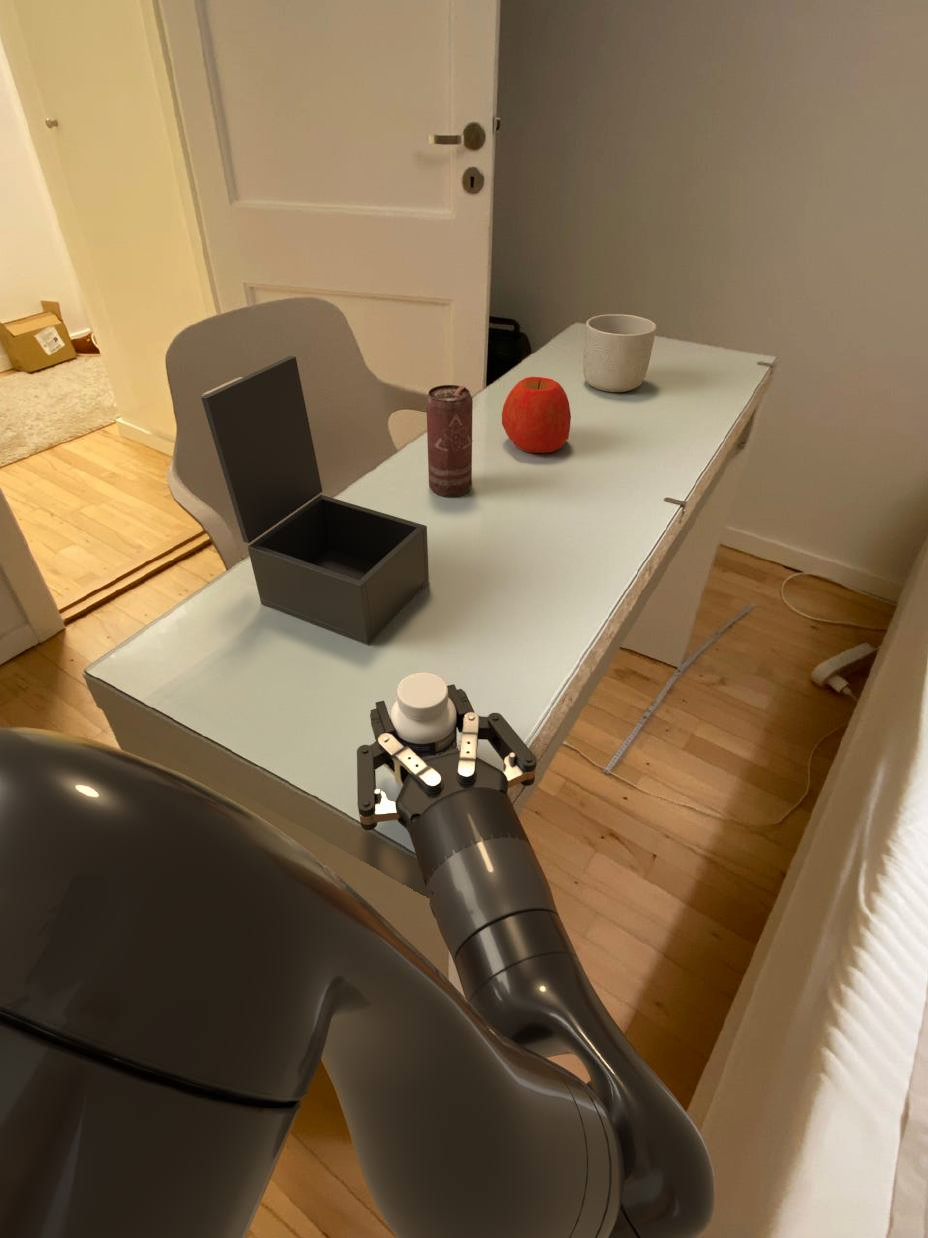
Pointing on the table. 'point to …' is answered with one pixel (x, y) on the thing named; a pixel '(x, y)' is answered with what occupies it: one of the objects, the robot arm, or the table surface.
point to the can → (449, 440)
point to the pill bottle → (424, 715)
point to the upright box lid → (264, 445)
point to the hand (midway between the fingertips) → (415, 700)
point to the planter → (617, 351)
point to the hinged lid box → (341, 567)
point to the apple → (537, 415)
